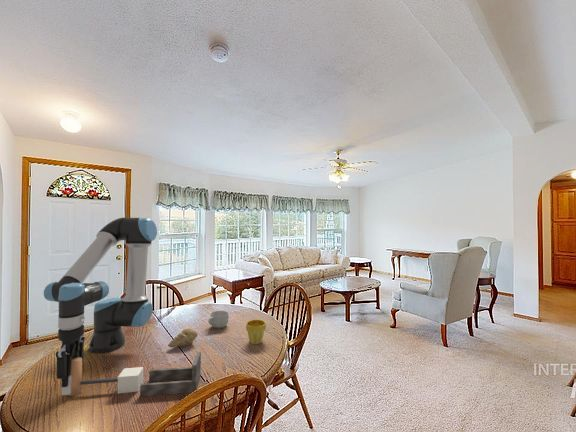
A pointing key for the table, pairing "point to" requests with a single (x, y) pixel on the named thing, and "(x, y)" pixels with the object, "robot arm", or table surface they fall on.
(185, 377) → the shelf lane
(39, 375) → the table surface
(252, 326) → the plant pot
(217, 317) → the teacup
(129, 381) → the push rod with block
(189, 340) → the seashell
